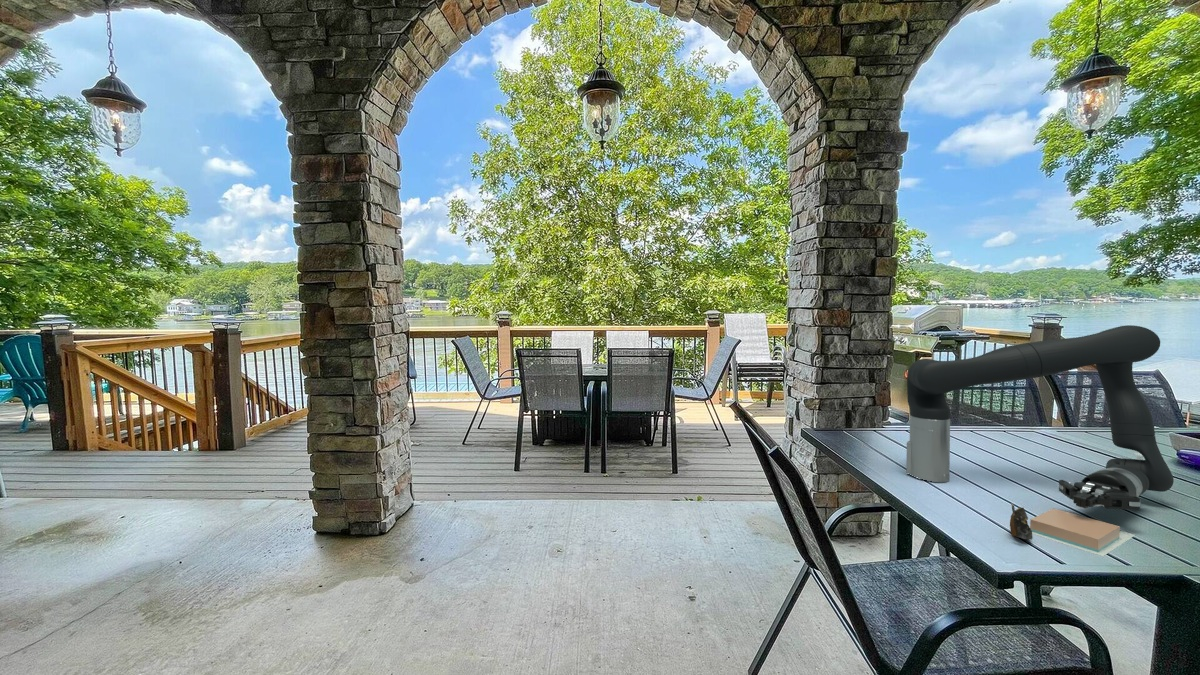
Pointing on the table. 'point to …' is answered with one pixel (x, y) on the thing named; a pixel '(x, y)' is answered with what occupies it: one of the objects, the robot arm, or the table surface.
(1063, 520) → the tile
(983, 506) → the table surface
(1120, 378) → the robot arm
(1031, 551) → the table surface
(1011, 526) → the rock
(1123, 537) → the mat
